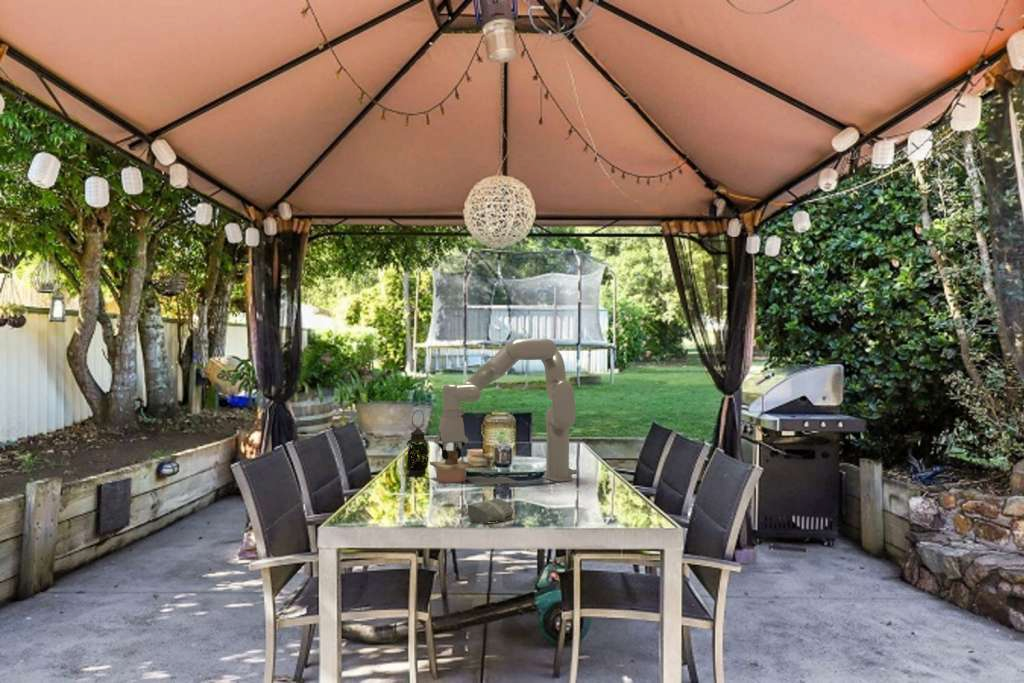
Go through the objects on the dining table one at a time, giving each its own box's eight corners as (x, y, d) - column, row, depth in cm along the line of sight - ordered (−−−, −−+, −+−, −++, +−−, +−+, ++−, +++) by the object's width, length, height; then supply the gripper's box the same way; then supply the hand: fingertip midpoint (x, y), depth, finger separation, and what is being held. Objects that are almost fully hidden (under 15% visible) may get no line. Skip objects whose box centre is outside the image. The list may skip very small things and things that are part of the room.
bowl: (458, 478, 303) (459, 463, 303) (468, 483, 293) (468, 467, 293) (433, 480, 298) (434, 464, 298) (442, 485, 288) (442, 468, 288)
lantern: (417, 472, 317) (418, 408, 317) (432, 475, 312) (433, 410, 312) (401, 475, 309) (402, 410, 309) (417, 478, 304) (418, 411, 304)
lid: (461, 462, 305) (461, 448, 305) (473, 467, 292) (473, 452, 292) (429, 464, 299) (430, 449, 299) (440, 469, 287) (440, 454, 287)
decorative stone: (493, 514, 240) (493, 496, 240) (517, 519, 234) (517, 500, 234) (467, 521, 230) (467, 502, 230) (491, 526, 224) (491, 507, 224)
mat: (501, 477, 308) (501, 474, 308) (519, 484, 292) (519, 482, 292) (462, 479, 301) (462, 477, 301) (478, 487, 285) (478, 485, 285)
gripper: (468, 413, 303) (467, 456, 303) (429, 414, 296) (428, 458, 296) (474, 414, 296) (474, 459, 296) (435, 415, 289) (434, 461, 289)
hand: (451, 458), depth 296 cm, fingers open, 5 cm apart
